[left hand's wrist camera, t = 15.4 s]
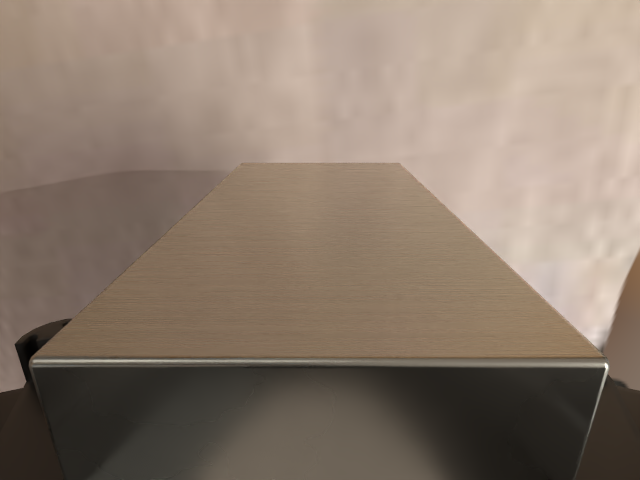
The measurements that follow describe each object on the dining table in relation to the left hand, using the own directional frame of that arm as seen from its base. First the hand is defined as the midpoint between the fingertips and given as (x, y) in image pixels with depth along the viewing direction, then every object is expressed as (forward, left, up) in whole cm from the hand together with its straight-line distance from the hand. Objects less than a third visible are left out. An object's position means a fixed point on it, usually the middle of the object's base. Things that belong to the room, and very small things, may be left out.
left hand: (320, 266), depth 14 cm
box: (+6, +3, -3) cm, 8 cm away
